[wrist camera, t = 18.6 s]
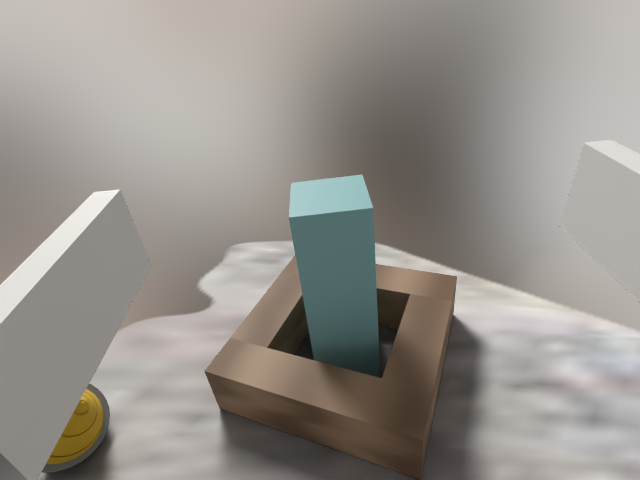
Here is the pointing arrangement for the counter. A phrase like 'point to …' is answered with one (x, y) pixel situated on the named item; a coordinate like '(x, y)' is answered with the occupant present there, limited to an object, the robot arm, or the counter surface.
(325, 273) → the teal peg
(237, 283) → the counter surface
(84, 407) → the yellow grooved cone
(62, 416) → the robot arm
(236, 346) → the block
